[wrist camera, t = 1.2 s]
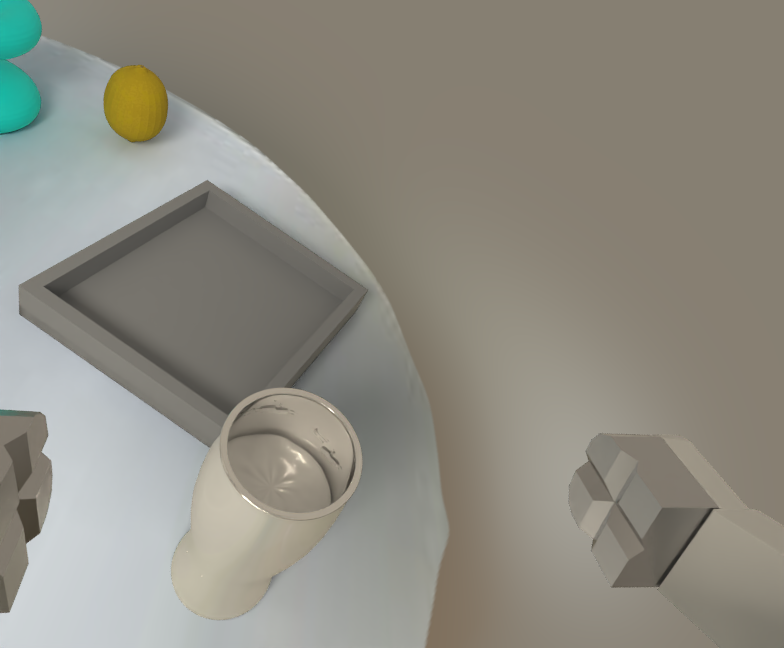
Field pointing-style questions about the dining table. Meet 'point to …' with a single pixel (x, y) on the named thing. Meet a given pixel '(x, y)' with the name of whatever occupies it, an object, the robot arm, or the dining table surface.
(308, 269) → the tray
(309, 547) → the beer glass
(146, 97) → the lemon
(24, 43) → the donuts
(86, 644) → the dining table surface
